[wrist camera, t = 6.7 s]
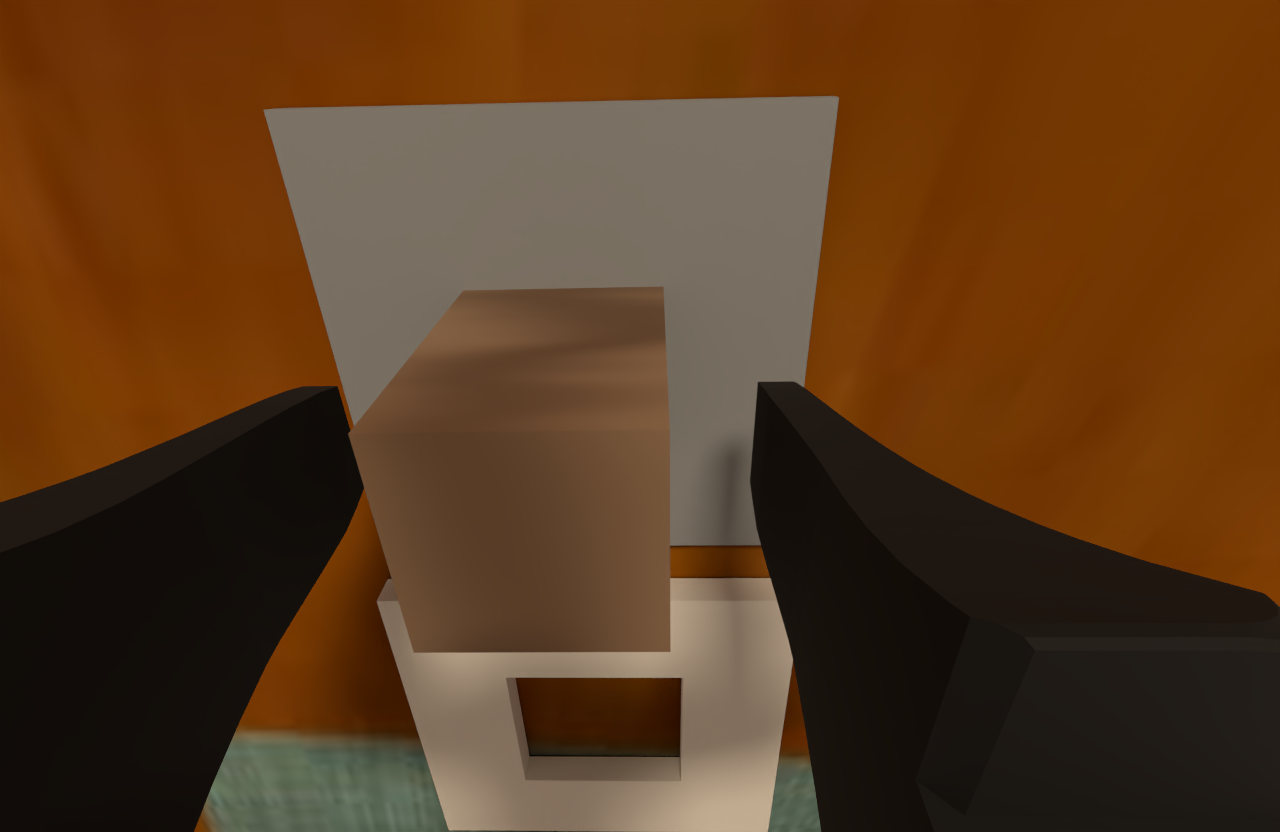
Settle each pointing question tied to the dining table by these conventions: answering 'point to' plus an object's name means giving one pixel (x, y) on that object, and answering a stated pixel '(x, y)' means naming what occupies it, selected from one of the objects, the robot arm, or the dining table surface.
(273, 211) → the dining table surface
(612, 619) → the block
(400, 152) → the mat
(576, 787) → the pocket plate
